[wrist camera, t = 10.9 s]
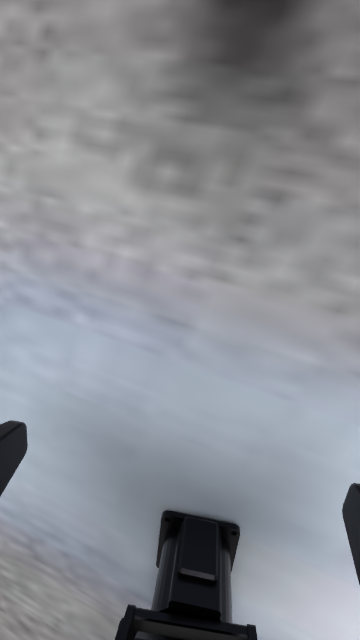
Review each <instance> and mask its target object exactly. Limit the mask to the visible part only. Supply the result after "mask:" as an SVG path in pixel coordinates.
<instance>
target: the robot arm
mask: <svg viewBox="0 0 360 640" xmlns="http://www.w3.org/2000/svg"><path fill="white" fill-rule="evenodd" d="M27 446H28V444H27V428H26V425H25V423H23V422H18V421H8V422H5V423H3V424H1V425H0V496H1V495H2V493H3V491H4V489H5V488H6V486H7V484H8V483H9V481H10V479H11V478H12V476H13V474H14V473H15V471H16V469H17V468H18V466H19V464H20V463H21V461H22V459H23V457H24V456H25V454H26V451H27ZM342 513H343V519H344V523H345V527H346V531H347V536H348V540H349V544H350V548H351V552H352V556H353V560H354V564H355V568H356V573H357V576H358V580H359V584H360V484H357V483H353V484H351V486H350V488H349V490H348V493H347V496H346V499H345V501H344V504H343V509H342ZM239 536H240V528H239V526H237V525H235V524H231V523H226V522H221V521H216V520H211V519H206V518H201V517H196V516H192V515H187V514H182V513H177V512H172V511H164V512H163V514H162V519H161V528H160V537H159V545H158V554H157V562H156V566H157V567H158V568H159V570H158V576H157V581H156V587H155V592H154V598H153V603H152V609H151V610H148V609H142V608H136V606H134V605H128V607H127V610H126V613H125V616H124V618H122V619H121V621H120V623H119V627H118V631H117V634H116V637H115V640H257V633H256V626H255V625H250V624H247V626H244V625H238V624H232V600H231V571H232V567H233V562H234V558H235V554H236V549H237V545H238V541H239Z"/></svg>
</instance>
